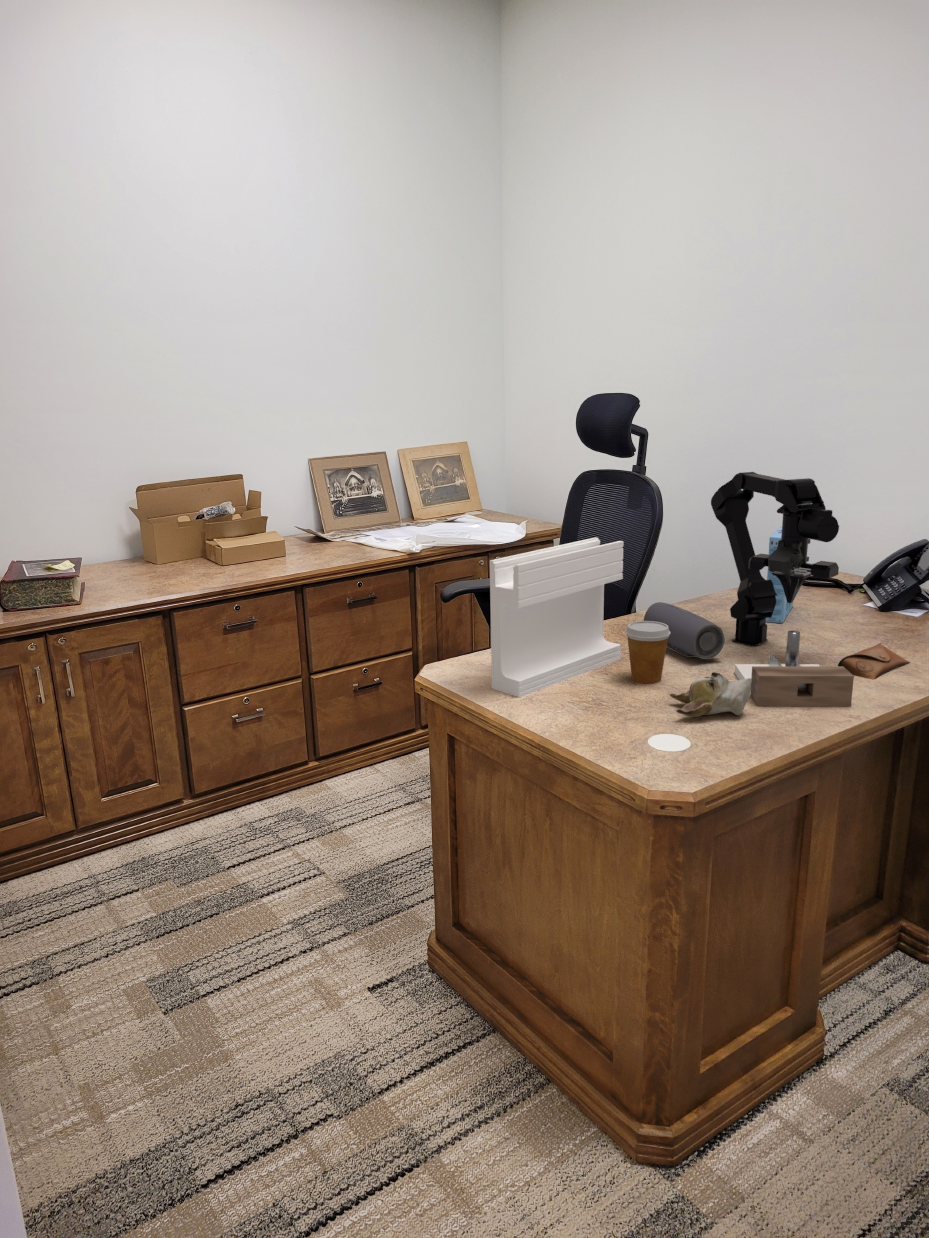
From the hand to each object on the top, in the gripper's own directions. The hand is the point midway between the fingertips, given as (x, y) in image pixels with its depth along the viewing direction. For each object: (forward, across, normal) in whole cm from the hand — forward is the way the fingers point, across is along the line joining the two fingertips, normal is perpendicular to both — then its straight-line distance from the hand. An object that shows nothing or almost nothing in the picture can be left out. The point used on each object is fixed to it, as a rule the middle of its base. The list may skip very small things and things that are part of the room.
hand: (789, 602), depth 200 cm
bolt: (+11, +12, -23) cm, 28 cm away
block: (+13, -33, -43) cm, 56 cm away
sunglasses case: (+14, +18, +5) cm, 23 cm away
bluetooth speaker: (+13, -21, -11) cm, 27 cm away
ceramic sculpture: (+13, +4, -43) cm, 45 cm away
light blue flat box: (+13, -18, +35) cm, 42 cm away
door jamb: (+13, +15, -26) cm, 32 cm away
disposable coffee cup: (+13, -16, -34) cm, 40 cm away
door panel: (+13, +7, -17) cm, 22 cm away
